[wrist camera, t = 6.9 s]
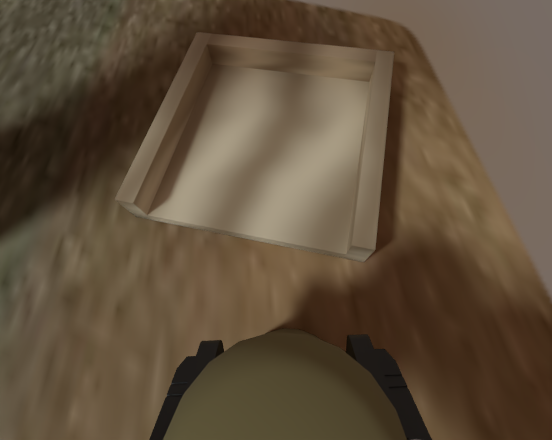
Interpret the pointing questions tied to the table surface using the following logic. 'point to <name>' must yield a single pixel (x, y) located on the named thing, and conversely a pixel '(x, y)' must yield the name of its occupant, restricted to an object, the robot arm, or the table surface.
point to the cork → (285, 395)
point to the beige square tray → (269, 144)
